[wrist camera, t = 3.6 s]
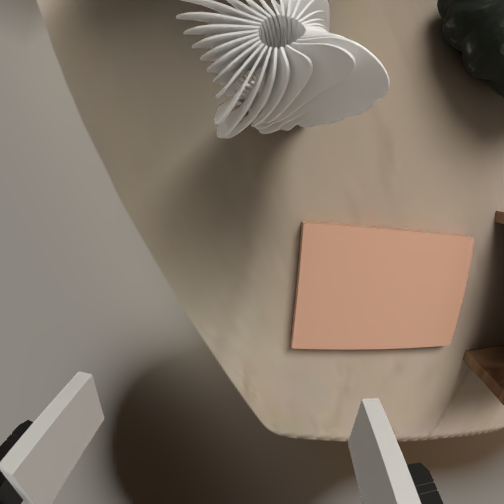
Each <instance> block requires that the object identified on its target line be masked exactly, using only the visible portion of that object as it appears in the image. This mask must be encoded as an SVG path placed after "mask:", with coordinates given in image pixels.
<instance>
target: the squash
mask: <svg viewBox="0 0 504 504" xmlns="http://www.w3.org/2000/svg"><path fill="white" fill-rule="evenodd" d="M437 7H438V10H439V13H440V15H441V17H442V18H443V20H444V22H443V29H442V30H443V35H444V37H445V39H446V40H447V41H448V42H449V43H450V44H451V45H452V46H453V47H455V48H456V49H457V50H459V51H462V61H463V64H464V67H465V69H466V70H467V72H468V73H469V74H470V75H471V76H473V77H475V78H478V79H482V80H486V82H487V83H488V85H489V86H490V87H491V88H492V90H494V91H495V92H496V93H498V94H499V95H501V96H503V97H504V0H438V3H437Z"/></svg>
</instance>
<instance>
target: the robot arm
mask: <svg viewBox="0 0 504 504" xmlns="http://www.w3.org/2000/svg"><path fill="white" fill-rule="evenodd" d="M103 420H104V415H103V412H102V408H101V405H100V402H99V398H98V394H97V390H96V387H95V383H94V379H93V375H92V374H88V373H84V372H80V371H79V372H78V373H77V374H76V375H75V376H74V377H73V378H72V379H71V380H70V381H69V383H68V384H67V385H66V386H65V387H64V388H63V390H61V391H60V393H59V394H58V395H57V396H56V397H55V398H54V399H53V400H52V402H51V403H50V404H49V405H48V406H47V407H46V408H45V410H44V411H43V412H42V413H41V414H40V415H39V417H38V418H37V419H36V420H35V421H34V422H31V421H29V420H27V421H26V422H24V423H22V424H20V425H19V426H18V427H17V428H16V429H15V430H14V431H13V433H12V435H10V436H9V437H8V438H7V441H5V442H4V443H3V444H2V445H1V446H0V504H21V503H22V501H24V502H25V503H26V504H52V502H53V501H54V499H55V497H56V496H57V494H58V492H59V491H60V489H61V487H62V486H63V484H64V482H65V481H66V479H67V477H68V476H69V474H70V473H71V471H72V469H73V468H74V466H75V465H76V463H77V461H78V460H79V458H80V457H81V455H82V453H83V452H84V450H85V448H86V447H87V445H88V444H89V442H90V440H91V439H92V438H93V436H94V434H95V433H96V431H97V430H98V428H99V427H100V425H101V423H102V422H103ZM348 445H349V449H350V453H351V457H352V461H353V466H354V470H355V474H356V478H357V483H358V486H359V491H360V495H361V500H362V504H443V502H442V500H441V497H440V495H439V492H438V491H437V488H436V486H435V483H433V479H432V476H431V474H430V472H429V470H428V469H427V468H426V467H425V466H424V465H422V464H421V463H415V464H409V465H406V462H405V460H404V458H403V455H402V452H401V450H400V447H399V445H398V443H397V440H396V438H395V435H394V433H393V430H392V428H391V426H390V423H389V421H388V419H387V416H386V414H385V412H384V409H383V407H382V405H381V402H380V400H379V398H376V399H362V401H361V404H360V407H359V410H358V414H357V417H356V420H355V423H354V426H353V429H352V432H351V435H350V438H349V441H348Z"/></svg>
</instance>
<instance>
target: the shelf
mask: <svg viewBox="0 0 504 504" xmlns="http://www.w3.org/2000/svg"><path fill="white" fill-rule="evenodd" d="M495 222H498V223H501V224H504V212H499V211H496V216H495ZM463 360H464V361H465V362H466V363H467V364H468V365H469V366H470V367H471V369H472V370H473V371H474V372H475V373H476V374H477V375H478V376H479V377H480V379H481V380H482V381H483V382H484V383H485V384H486V385H487V386H488V388H489V389H490V390H491V391H492V392H493V393H494V395H495V396H496V397H497V398H498V399H499V400H500V402H501V403H502V404H503V405H504V346H498V347H491V348H484V349H476V350H467V351H465V354H464V357H463Z"/></svg>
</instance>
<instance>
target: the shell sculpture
mask: <svg viewBox="0 0 504 504" xmlns="http://www.w3.org/2000/svg"><path fill="white" fill-rule="evenodd" d="M181 1H186V2H190V3H195V4H198V5H202V6H205V7H207V8H210V9H213V10H215V11H217V12H219V13H221V14H217V13H209V12H187V13H181V14H178V15H176V19H182V20H195V21H202V22H207V23H211V25H202V26H196V27H193V28H190V29H187V30H185V31H184V32H183V35H205V36H210V37H208V38H205V39H202V40H200V41H198V42H196V43H195V44H193V45H192V48H207V49H211V50H209V51H208V52H206V53H205V54H204V55H202V56H201V57H200V61H203V60H204V61H213V63H212V64H211V65H210V66H209V67H208V68H207V72H212V73H217V74H218V75H217V76H216V77H215V78H214V79H213V80H212V82H213V83H217V84H221V85H224V86H225V87H224V88H223V89H222V90H221V91H219V92H218V93H216V94H215V97H216V98H219V97H220V96H221V95H222V94H224V95H228V96H231V97H232V98H231V99H229V100H228V101H226V102H225V103H223V104H221V105H219V107H218V108H217V110H216V113H215V116H214V123H215V124H216V125H218V126H217V132H216V134H217V137H218V138H226V139H229V138H232V137H234V136H235V135H237V134H238V133H240V132H241V131H242V130H244V129H245V128H246V127H247V126H248V125H249V124H250V123H251V122H253V123H252V124H251V126H252V127H255V128H256V129H257V130H259V132H260V133H262V134H269V133H273V132H275V131H278V130H285V131H289V130H291V129H292V128H293V127H294V126H295V125H299V126H301V127H311V126H316V125H322V124H328V123H333V122H337V121H340V120H342V119H344V118H345V117H346V116H350V115H358V114H362V113H364V112H366V111H367V110H368V109H369V108H370V107H371V106H372V104H373V101H374V100H377V99H380V98H382V97H383V96H384V95H385V94H386V93H387V91H388V89H389V83H390V82H389V76H388V73H387V71H386V69H385V68H384V66H383V65H382V63H381V62H380V61H379V60H378V59H377V57H376V56H375V55H373V54H372V53H371V52H370V51H369V50H367V49H366V48H365V47H363V46H362V45H360V44H358V43H356V42H354V41H352V40H349V39H347V38H345V37H343V36H340V35H336V34H332V33H329V27H330V26H329V23H330V10H329V4H328V1H327V0H280V5H281V6H280V5H279V4H278V3H277V2H276V0H271V2H272V5H273V7H274V9H275V12H276V15H277V18H278V21H277V18H276V15H275V14H274V12H273V11H272V10H271V8H270V7H269V6H268V5H267V4H266V2H265V1H264V0H259V1H260V2H261V4H262V5H263V7H264V9H265V10H264V9H262V8H261V7H260V6H259V5H258V4H256V3H255V2H254V1H253V0H246V1H247V3H248V4H249V5H250V7H251V8H250V7H249V6H247V5H245V4H244V3H242V2H240V1H239V0H226V1H227V2H229V3H230V4H232V5H233V6H234V7H235V8H236V9H235V8H233V7H230V6H228V5H225V4H222V3H219V2H216V1H213V0H181ZM278 22H279V26H280V30H281V38H282V47H281V38H280V31H279V26H278ZM283 28H284V30H285V35H286V45H285V41H284V31H283ZM215 34H219V35H215ZM218 45H219V46H218ZM214 46H217V47H215V48H214ZM252 67H253V68H252ZM238 69H239V70H238ZM237 70H238V71H237ZM249 70H251V71H250V73H248V71H249ZM233 74H235V75H234V76H232V75H233ZM244 74H246V75H247V78H245V77H244V76H243V75H244ZM254 75H255V76H256V77H257V79H254V78H253V76H254ZM240 78H241V79H242V80H244V83H243V82H241V81H240V80H239V79H240ZM250 79H252V80H253V81H252V82H250ZM236 83H237V84H238V85H240V86H241V87H239V86H238V85H236ZM247 83H248V84H247ZM242 93H243V94H242ZM238 99H244V100H245V101H244V102H243V103H242V102H241V101H239V100H238ZM235 105H241V106H240V107H239V108H238V109H237V110H234V111H232V112H231V110H232V109H233V107H234V106H235ZM247 111H249V114H248V116H246V117H244V115H245V114H246V112H247ZM243 117H244V118H243ZM241 120H243V121H241ZM240 121H241V122H240ZM239 122H240V123H239Z"/></svg>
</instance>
